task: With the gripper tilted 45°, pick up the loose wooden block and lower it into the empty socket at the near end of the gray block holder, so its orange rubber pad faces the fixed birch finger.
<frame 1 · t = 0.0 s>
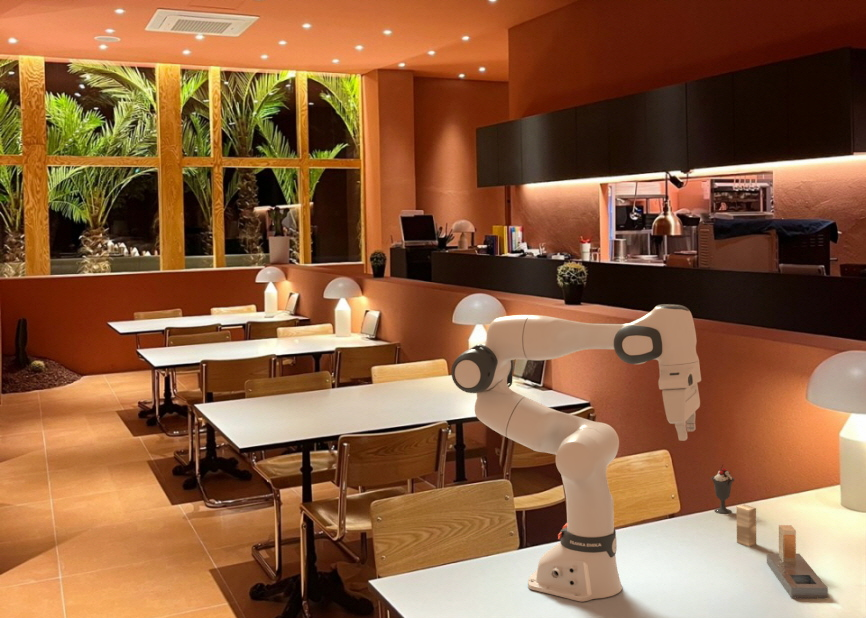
hand: (687, 435, 200), 39 cm above the table, tool pointing down, fingers open, 8 cm apart
sundae: (723, 512, 267), on the table
gray block holder: (795, 579, 214), on the table
wooden block: (746, 543, 240), on the table
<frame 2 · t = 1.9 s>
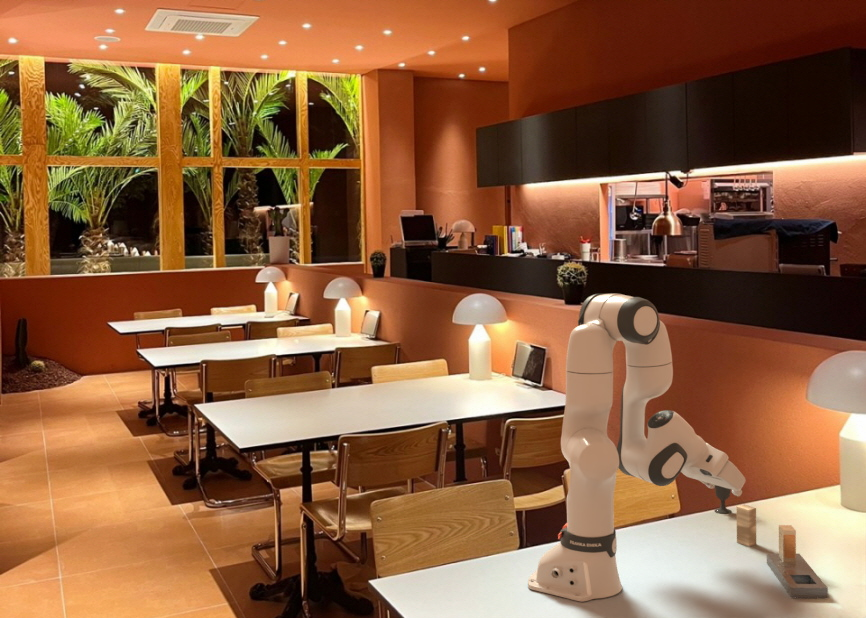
hand: (725, 490, 230), 17 cm above the table, tool tilted 45°, fingers open, 8 cm apart
nothing on the table moved.
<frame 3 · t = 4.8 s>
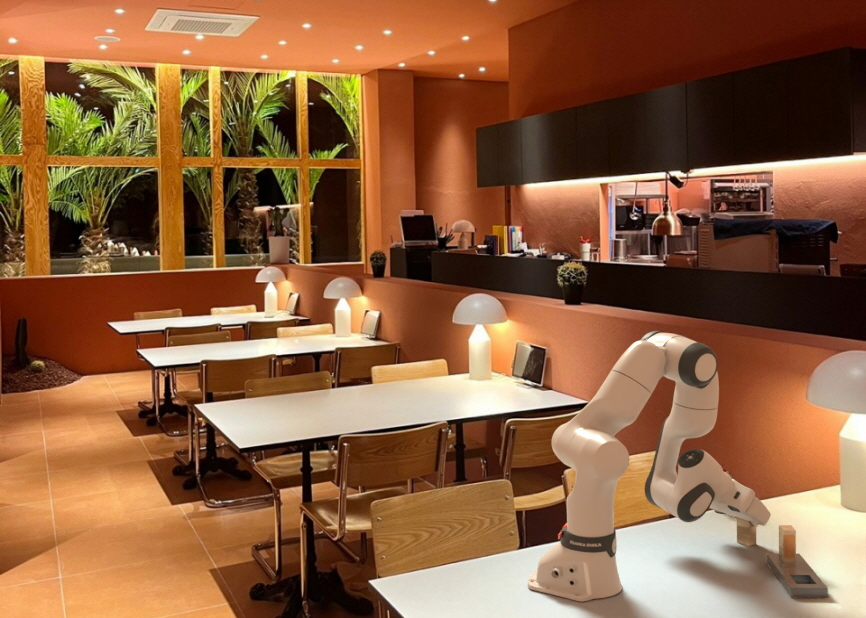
hand: (747, 521, 239), 6 cm above the table, tool tilted 45°, fingers closed on wooden block, 4 cm apart
wooden block: (746, 543, 240), on the table, touching gripper
everything else where it was.
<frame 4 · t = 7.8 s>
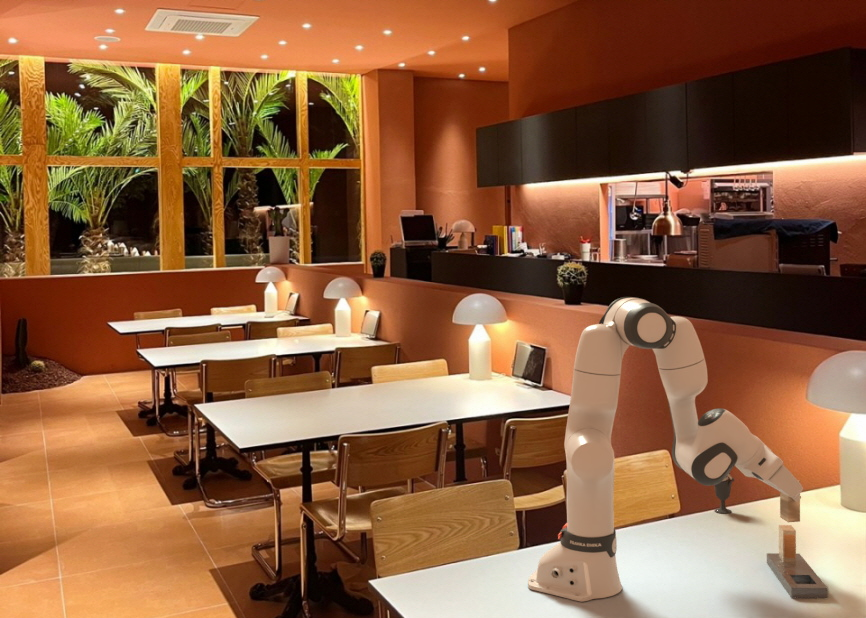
hand: (792, 495, 217), 19 cm above the table, tool tilted 45°, fingers closed on wooden block, 4 cm apart
wooden block: (790, 519, 218), point 13 cm above the table, touching gripper
everything else where it was.
when the fingers open (7 cm above the table, at t = 11.0 s): wooden block drops 1 cm, resting in gray block holder.
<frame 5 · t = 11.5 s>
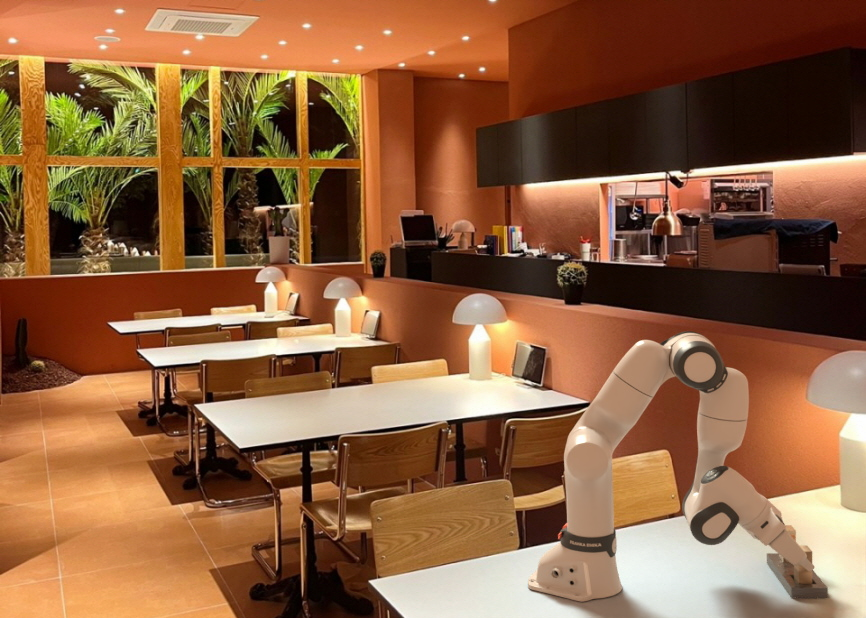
hand: (805, 561, 207), 7 cm above the table, tool tilted 45°, fingers open, 8 cm apart
wooden block: (803, 589, 208), resting in gray block holder
everything else where it was.
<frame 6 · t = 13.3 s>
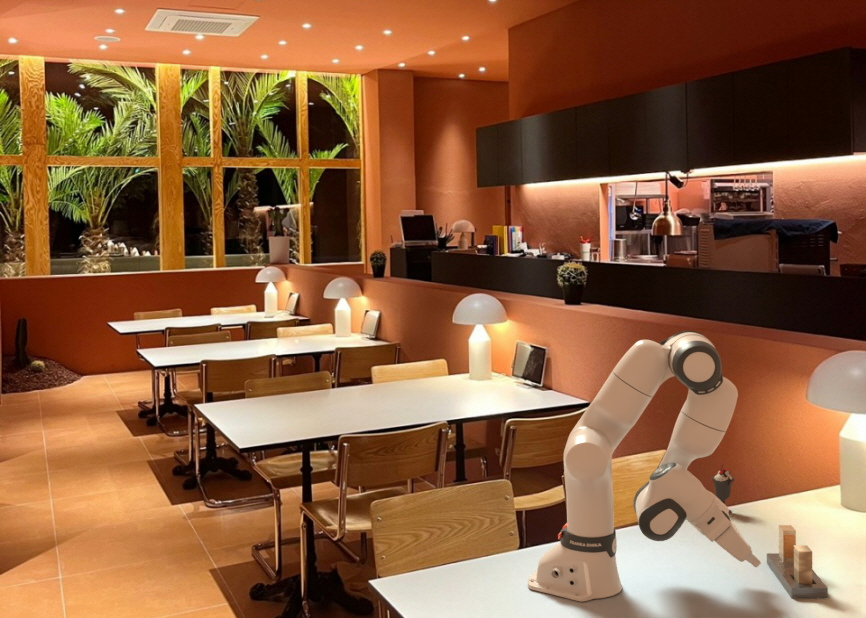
hand: (753, 557, 208), 8 cm above the table, tool tilted 45°, fingers open, 8 cm apart
nothing on the table moved.
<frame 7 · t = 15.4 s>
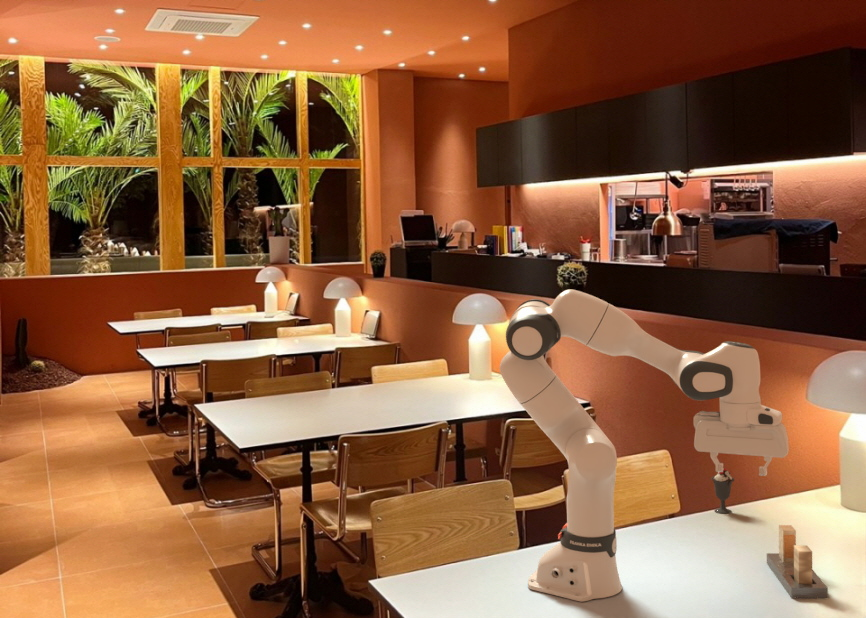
hand: (740, 473, 201), 30 cm above the table, tool pointing down, fingers open, 8 cm apart
nothing on the table moved.
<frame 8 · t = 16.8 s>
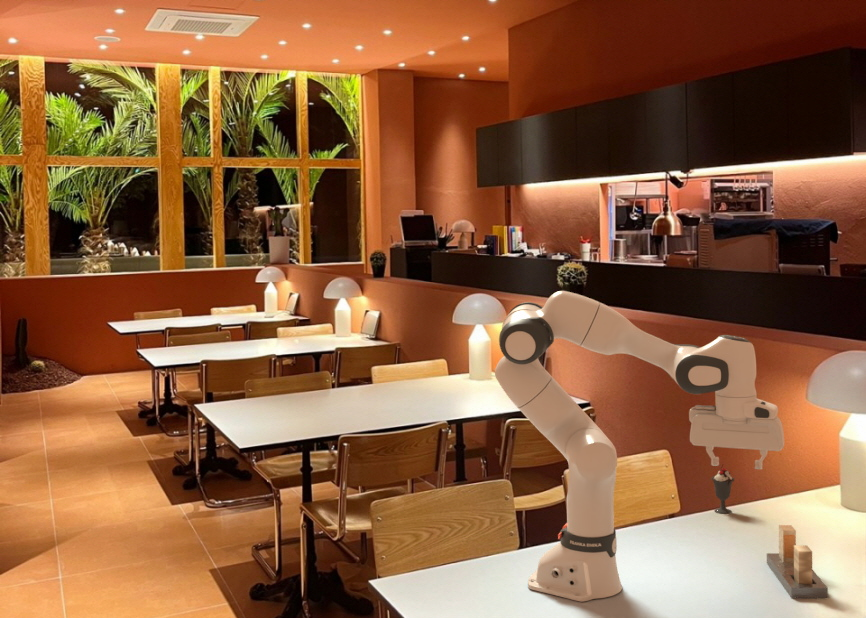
hand: (736, 466, 201), 31 cm above the table, tool pointing down, fingers open, 8 cm apart
nothing on the table moved.
at the end: wooden block 0.1 cm from the target spot, resting in gray block holder; wooden block tilted 0°; the gripper is holding nothing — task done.
